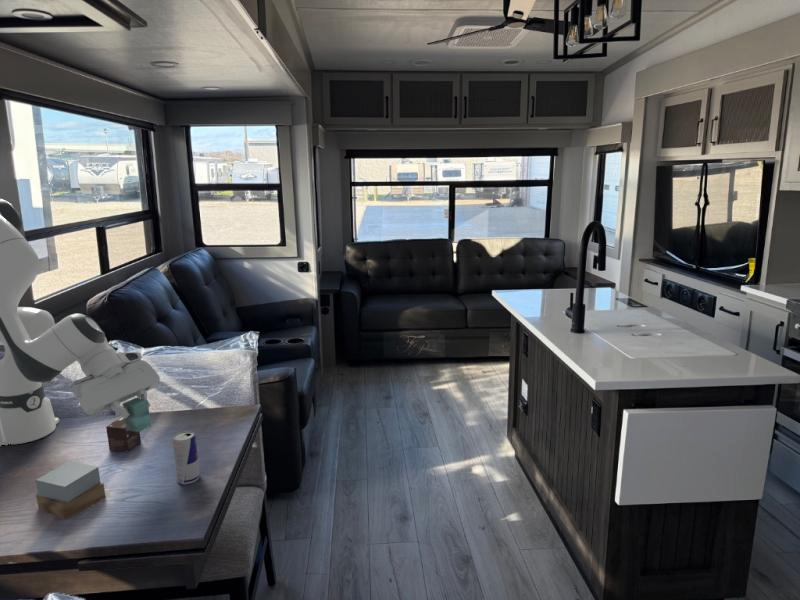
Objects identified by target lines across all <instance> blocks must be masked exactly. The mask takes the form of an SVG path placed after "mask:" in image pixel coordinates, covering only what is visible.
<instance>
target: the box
mask: <svg viewBox="0 0 800 600" xmlns="http://www.w3.org/2000/svg"><path fill="white" fill-rule="evenodd" d="M105 429H106V434H107V435H106V436H107V441H108V442H107V444H108V448H109V451H112V452H113V451H114V452H125V453H128V452H130V451H131V450H133V449H134V448H136V447H137V446H138V445H140V444H141V443H142V439H141V431H140V432H138V433H137V432H134V431H130V430H126V423H125V419H124V418H123V417H120V418H118V419H117V420H115V421H113V422H111V423H109V424H108V425H107V426H105Z"/></svg>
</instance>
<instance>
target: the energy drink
mask: <svg viewBox="0 0 800 600" xmlns="http://www.w3.org/2000/svg"><path fill="white" fill-rule="evenodd" d="M172 446H173V448H172V449H173V454H174V455H173V456H174V462H175V463H174V465H175V472H176V478H177V482H178V483H179V484H180V485H191V484H194V483H195V482H197V481H199V478H200V477H201V474H200V466H199V465H200V464H199V456H198V455H199V454H198V448H197V436H196V435H195V432H193V431H190V430H185V431H180V432H177V433H176V434H174V435H173V437H172Z"/></svg>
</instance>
